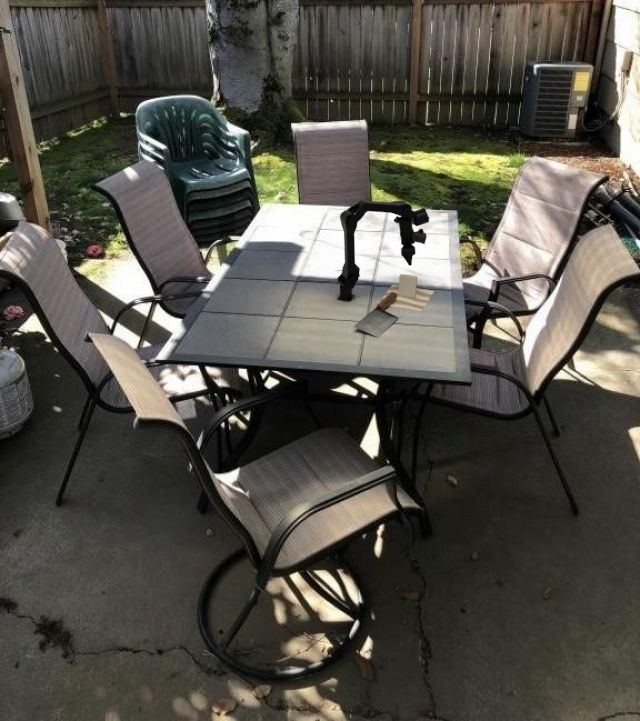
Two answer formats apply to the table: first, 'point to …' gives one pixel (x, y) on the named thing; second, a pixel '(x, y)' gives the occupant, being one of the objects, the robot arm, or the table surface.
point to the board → (409, 299)
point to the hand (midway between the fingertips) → (410, 260)
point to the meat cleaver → (378, 318)
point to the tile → (407, 286)
